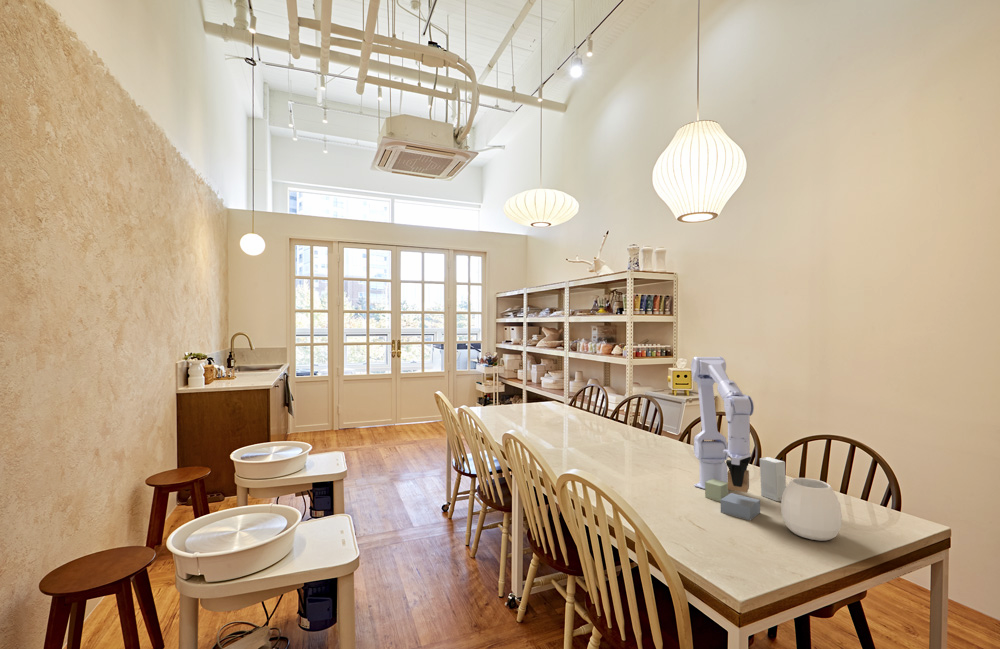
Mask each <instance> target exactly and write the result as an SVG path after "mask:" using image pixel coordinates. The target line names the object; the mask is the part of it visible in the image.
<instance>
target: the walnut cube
mask: <svg viewBox="0 0 1000 649" xmlns="http://www.w3.org/2000/svg"><path fill="white" fill-rule="evenodd" d="M749 489H750V471H749V470H748V469H747V470H745V473H744V478H743V484H742V487H737V486H733V482H732V478H731V473H730V470H729V469H728V491H729V490H730V491H736V492H740V493H748V491H749Z"/></svg>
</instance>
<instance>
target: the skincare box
mask: <svg viewBox="0 0 1000 649" xmlns="http://www.w3.org/2000/svg"><path fill="white" fill-rule="evenodd" d="M759 473H760V474H759V476H760V494H761V496H762V497H765V498H767V499H771V500H772V501H775V502H782V495H783V492H784V490H785V488H786V486H787V482H786V481H787V480H786V478H787V477H786V462H785V461H784V460H780V459H777V458H773V457H770V456H766V457H760V458H759Z"/></svg>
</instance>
